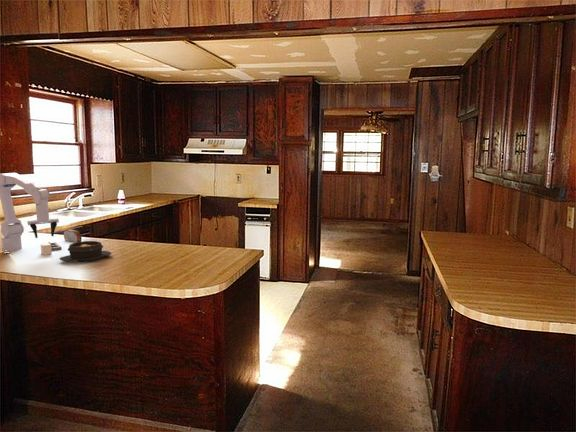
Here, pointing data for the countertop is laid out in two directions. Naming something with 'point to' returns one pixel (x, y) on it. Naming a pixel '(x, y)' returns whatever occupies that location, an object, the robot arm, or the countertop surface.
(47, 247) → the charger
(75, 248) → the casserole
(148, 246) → the countertop surface
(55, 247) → the grey rectangular hollow block
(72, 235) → the tin
